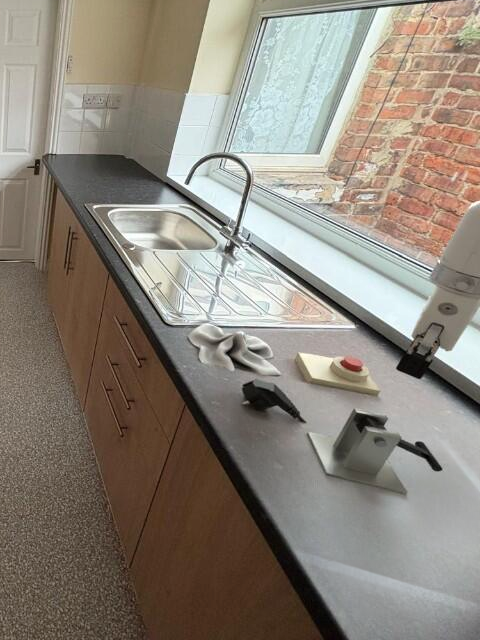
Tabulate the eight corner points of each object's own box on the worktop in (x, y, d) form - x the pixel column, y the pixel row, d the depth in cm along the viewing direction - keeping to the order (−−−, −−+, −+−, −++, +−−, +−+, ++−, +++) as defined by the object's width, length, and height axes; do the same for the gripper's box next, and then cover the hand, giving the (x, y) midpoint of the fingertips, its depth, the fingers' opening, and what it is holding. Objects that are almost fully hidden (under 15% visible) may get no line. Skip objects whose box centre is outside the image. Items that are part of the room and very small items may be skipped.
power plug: (313, 435, 78) (263, 386, 80) (274, 446, 83) (228, 399, 85) (312, 415, 82) (264, 369, 84) (275, 427, 87) (231, 383, 89)
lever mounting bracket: (376, 452, 76) (403, 410, 71) (403, 498, 68) (436, 454, 63) (304, 436, 79) (326, 395, 74) (323, 478, 71) (348, 435, 67)
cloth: (186, 321, 112) (191, 302, 109) (266, 336, 106) (273, 316, 103) (192, 376, 94) (199, 354, 91) (289, 398, 88) (300, 376, 85)
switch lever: (416, 449, 71) (429, 441, 70) (434, 474, 67) (448, 466, 66) (351, 418, 72) (362, 410, 71) (365, 441, 68) (377, 433, 67)
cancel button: (355, 364, 91) (359, 357, 91) (362, 373, 89) (366, 367, 88) (338, 360, 92) (341, 354, 92) (344, 370, 90) (348, 364, 89)
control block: (356, 370, 95) (363, 356, 93) (376, 398, 87) (384, 384, 85) (294, 359, 98) (300, 345, 97) (308, 385, 91) (315, 371, 89)
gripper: (494, 307, 58) (433, 397, 66) (509, 271, 67) (454, 354, 75) (420, 285, 64) (372, 370, 71) (443, 255, 73) (399, 333, 80)
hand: (414, 362), depth 73 cm, fingers open, 9 cm apart
